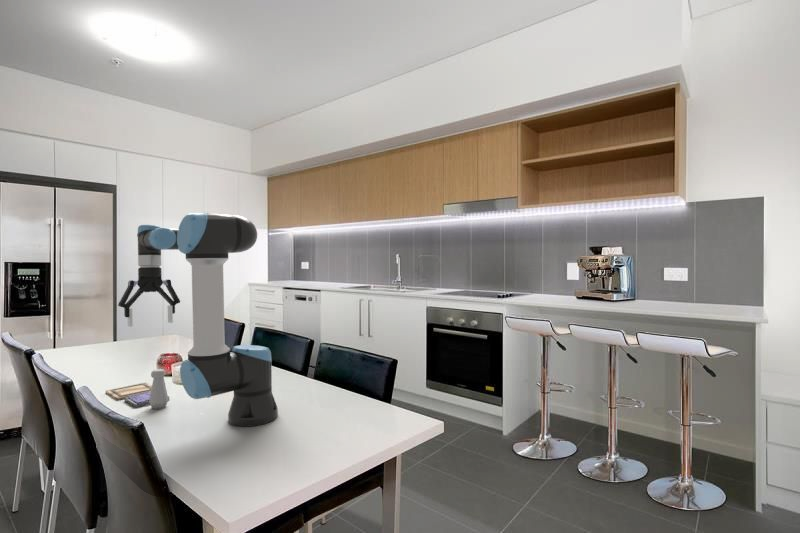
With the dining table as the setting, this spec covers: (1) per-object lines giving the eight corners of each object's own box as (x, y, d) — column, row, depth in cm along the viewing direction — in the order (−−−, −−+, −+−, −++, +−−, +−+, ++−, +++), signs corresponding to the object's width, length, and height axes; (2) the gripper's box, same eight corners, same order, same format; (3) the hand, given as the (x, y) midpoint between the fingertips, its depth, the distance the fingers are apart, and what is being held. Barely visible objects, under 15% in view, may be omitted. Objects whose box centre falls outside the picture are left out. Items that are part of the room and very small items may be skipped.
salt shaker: (160, 410, 149) (159, 372, 149) (145, 409, 150) (144, 371, 150) (172, 404, 155) (171, 368, 155) (157, 403, 156) (157, 367, 156)
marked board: (159, 391, 170) (159, 388, 170) (117, 400, 160) (117, 397, 160) (145, 384, 180) (145, 381, 180) (105, 392, 169) (105, 390, 169)
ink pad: (169, 399, 160) (169, 395, 160) (135, 407, 152) (135, 403, 152) (157, 393, 168) (157, 389, 168) (124, 401, 159) (124, 396, 159)
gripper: (180, 267, 176) (181, 320, 175) (107, 267, 157) (108, 327, 157) (188, 266, 170) (189, 321, 170) (114, 266, 152) (115, 328, 152)
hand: (150, 324), depth 164 cm, fingers open, 13 cm apart
